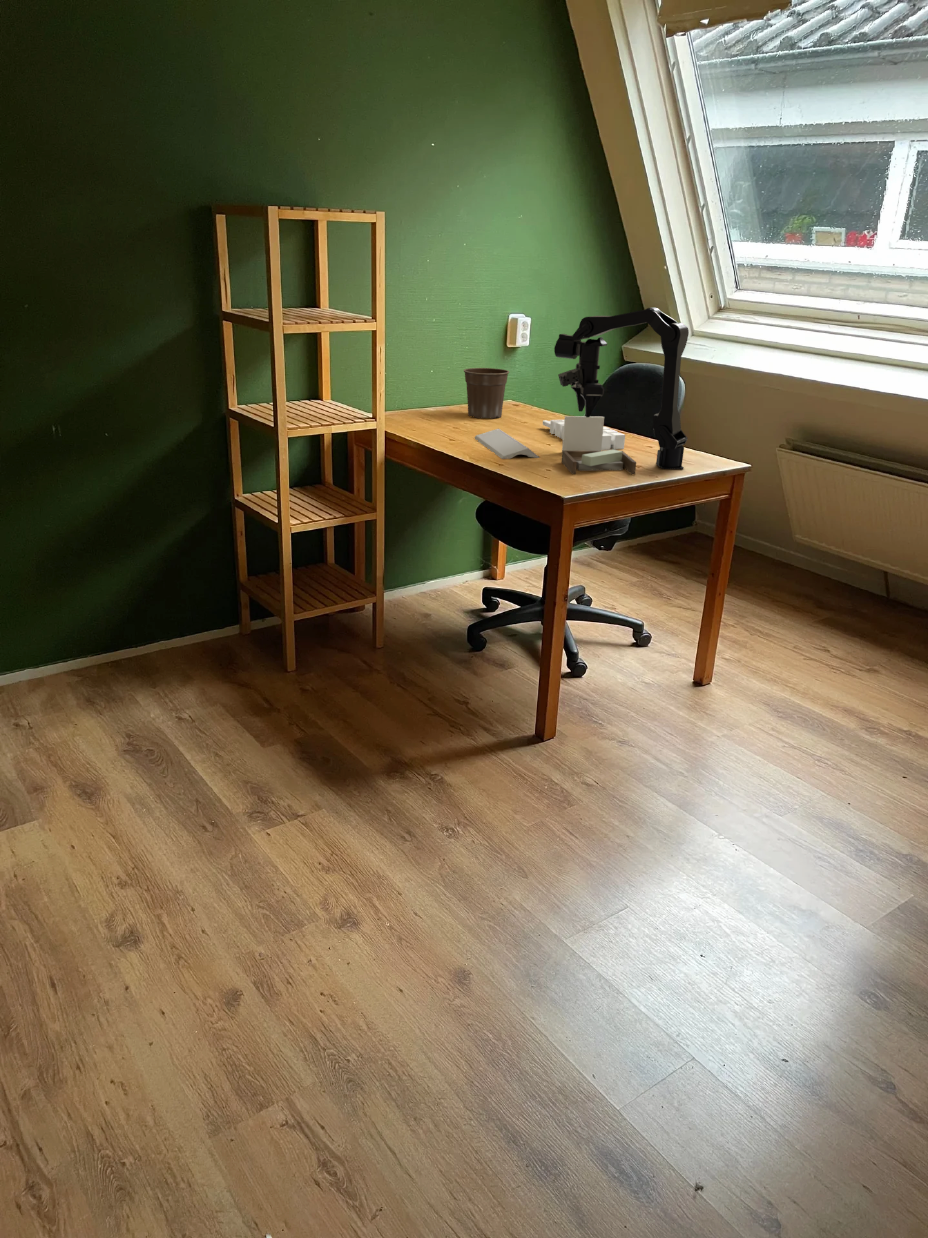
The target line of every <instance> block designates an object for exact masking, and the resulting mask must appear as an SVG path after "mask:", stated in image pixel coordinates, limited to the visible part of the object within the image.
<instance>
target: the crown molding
mask: <svg viewBox="0 0 928 1238" xmlns="http://www.w3.org/2000/svg"><path fill="white" fill-rule="evenodd" d="M474 438H475V439H474V440H476V441H477V440H478V441H477V442H478V443H479V444H481V445H482V446H484V447H485V448H486V447H487V450H489V449H490V450H489V451H490V452H492V453H493V452H494V453H495V454H494V453H493V454H494V455H496V456H497V457H499V458H500V459H501V460H507V459H512V458H514V457H516V456H518V455H524V456H527V458H535V459H538V458H539V459H540V458H541V457H540V456H538V454H536V453H535V452H534V451H532V449H530V448H529V447H528V446H526V445H524V444H523V443H521V442H520V441H519V440H517V439H515V438H514V437H512V436H511V435H509V434H508V433H506V432H505V431H503V430H502V429H500V428H496V429H492V430H489V431H486V432H484V433H480V434H476V435H475V436H474Z"/></svg>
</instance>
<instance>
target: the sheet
mask: <svg viewBox="0 0 928 1238" xmlns="http://www.w3.org/2000/svg"><path fill="white" fill-rule="evenodd" d="M563 420H564V432H563V440H562V449H561V451H562V450H567V451H602V450H601V447H602V436H603V427H605V426H604V424H605V416H590V417H586V415H585V416H584V415H583V416H582V415H581V416H579V415H577V416H576V415H574V416H573V415H565V416H564V419H563Z"/></svg>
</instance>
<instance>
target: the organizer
mask: <svg viewBox="0 0 928 1238" xmlns="http://www.w3.org/2000/svg"><path fill="white" fill-rule="evenodd" d="M564 420H565V419H550V420H545V419H544V420H542V426H545V427H547V428H548V429H549V434H550V433H551V434H550V435H552V434H555V435H554V436H555V437H556V436H557V437H556V438H558V437H559V438H558V439H561V440H562V441H563V432H564ZM625 441H626V434H624V433H622V432H618V431H617V430H614V429H611V428H610V427H607V426H603V436H602V447H601V451H607V450H613V449H614V450H625V449H624V448H625Z"/></svg>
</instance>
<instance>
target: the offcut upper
mask: <svg viewBox="0 0 928 1238" xmlns="http://www.w3.org/2000/svg"><path fill="white" fill-rule="evenodd" d="M622 451H623V450H619V449H615V450H614V449H610V450H601V452H595V453H589V454H584V455H582V462H581V464H585V465H589V466H593V465H599V464H604V463H610V462H615V461H621V460H622Z"/></svg>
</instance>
